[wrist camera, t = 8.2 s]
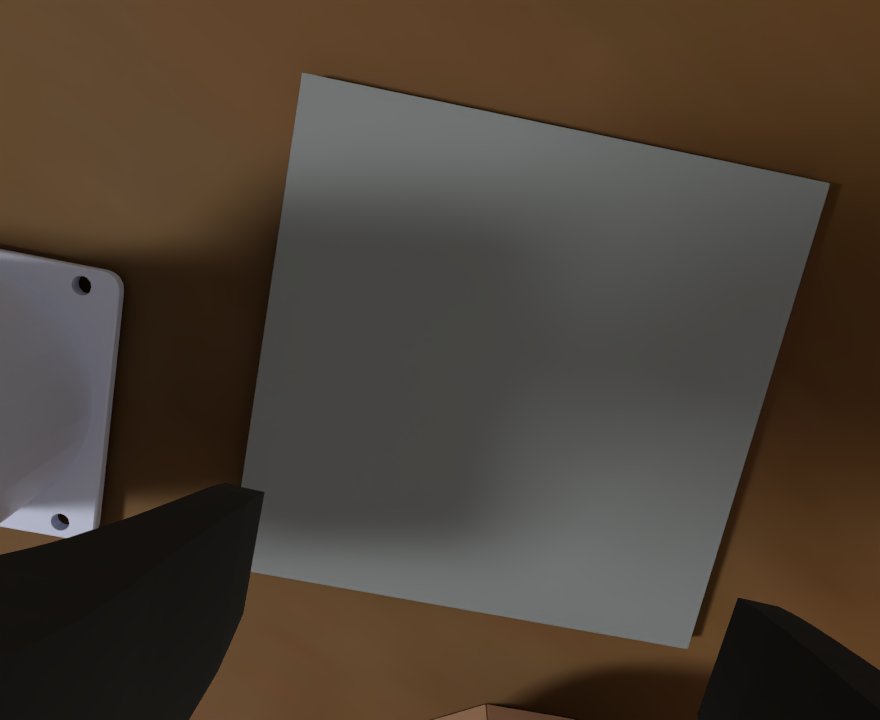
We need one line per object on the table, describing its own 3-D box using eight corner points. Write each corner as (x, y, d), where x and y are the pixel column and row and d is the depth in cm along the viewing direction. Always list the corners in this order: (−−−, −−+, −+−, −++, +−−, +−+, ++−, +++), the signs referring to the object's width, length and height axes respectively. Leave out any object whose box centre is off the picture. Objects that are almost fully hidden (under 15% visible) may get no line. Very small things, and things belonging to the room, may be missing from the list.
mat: (234, 558, 22) (228, 568, 21) (306, 76, 19) (302, 72, 18) (680, 637, 22) (687, 649, 22) (818, 183, 19) (830, 183, 19)
